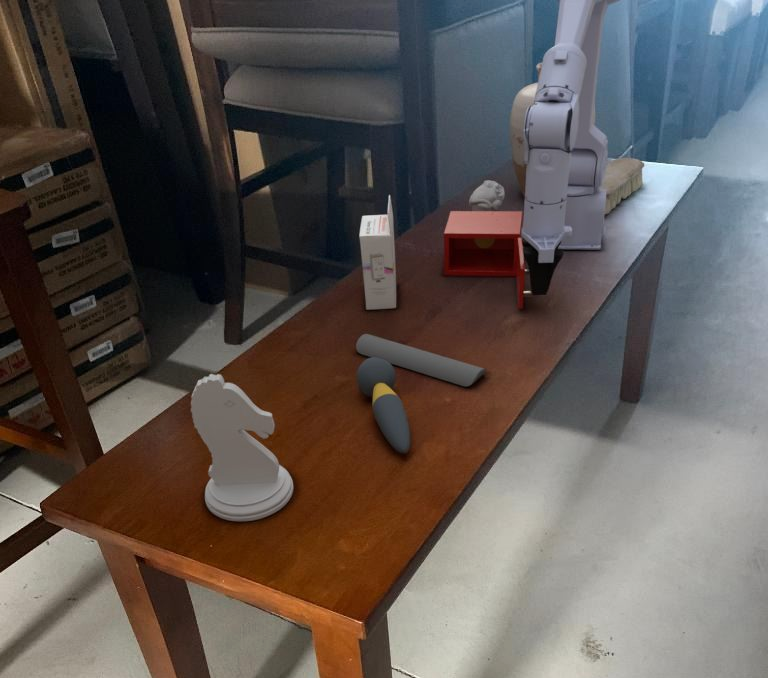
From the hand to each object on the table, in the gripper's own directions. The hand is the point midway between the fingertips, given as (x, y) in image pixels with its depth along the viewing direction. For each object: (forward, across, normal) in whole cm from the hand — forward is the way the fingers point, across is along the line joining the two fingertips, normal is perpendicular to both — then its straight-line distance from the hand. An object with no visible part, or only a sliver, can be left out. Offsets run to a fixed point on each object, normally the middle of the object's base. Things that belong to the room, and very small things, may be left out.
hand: (538, 290), depth 116 cm
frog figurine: (+3, +36, +7) cm, 37 cm away
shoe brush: (+3, +46, -16) cm, 49 cm away
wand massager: (+3, -30, +20) cm, 36 cm away
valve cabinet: (+2, +16, +8) cm, 18 cm away
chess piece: (+3, -46, +35) cm, 57 cm away
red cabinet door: (+2, +4, +1) cm, 4 cm away
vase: (+3, +50, -5) cm, 50 cm away
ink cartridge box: (+3, +4, +24) cm, 25 cm away
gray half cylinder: (+3, -17, +17) cm, 25 cm away
